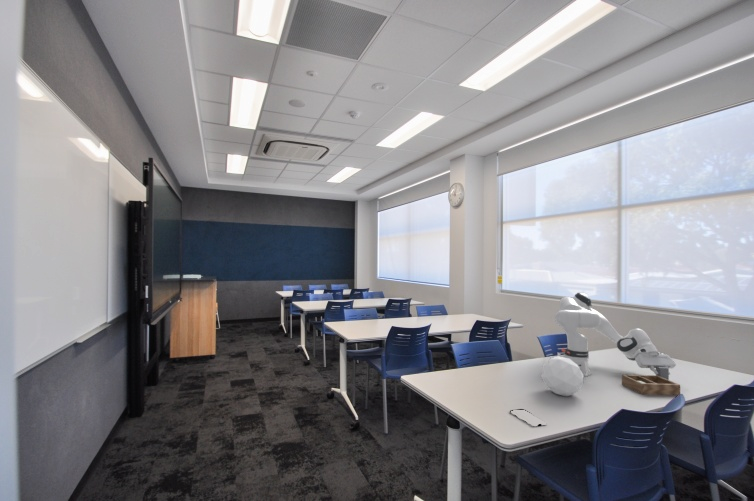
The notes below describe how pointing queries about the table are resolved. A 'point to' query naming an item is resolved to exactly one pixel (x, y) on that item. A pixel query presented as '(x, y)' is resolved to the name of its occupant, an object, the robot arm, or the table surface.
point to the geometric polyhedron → (562, 376)
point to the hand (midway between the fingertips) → (663, 374)
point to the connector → (663, 372)
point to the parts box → (651, 385)
